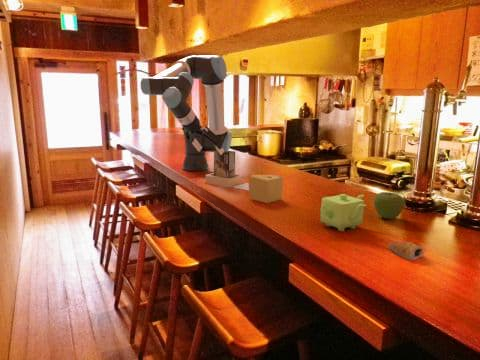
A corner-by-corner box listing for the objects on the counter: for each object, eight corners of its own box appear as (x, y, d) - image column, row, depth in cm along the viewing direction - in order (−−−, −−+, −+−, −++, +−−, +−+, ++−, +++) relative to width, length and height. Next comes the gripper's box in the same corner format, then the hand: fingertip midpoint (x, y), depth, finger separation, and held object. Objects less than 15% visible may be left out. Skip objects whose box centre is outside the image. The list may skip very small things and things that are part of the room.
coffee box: (235, 183, 190) (236, 151, 187) (229, 185, 185) (229, 152, 181) (219, 180, 194) (220, 149, 191) (212, 183, 189) (213, 151, 185)
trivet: (246, 184, 189) (246, 182, 188) (265, 187, 182) (265, 186, 182) (233, 187, 180) (233, 186, 180) (252, 191, 174) (252, 190, 173)
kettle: (361, 221, 136) (364, 191, 133) (366, 235, 122) (370, 201, 120) (318, 218, 138) (320, 188, 136) (319, 231, 125) (321, 198, 122)
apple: (365, 215, 142) (368, 190, 140) (385, 212, 147) (387, 187, 145) (389, 224, 133) (392, 197, 131) (409, 220, 138) (412, 193, 136)
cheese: (264, 195, 169) (265, 172, 167) (283, 200, 162) (284, 176, 159) (248, 198, 162) (248, 175, 160) (267, 204, 154) (268, 180, 152)
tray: (220, 179, 198) (220, 171, 197) (243, 183, 190) (243, 175, 189) (205, 182, 189) (205, 174, 188) (228, 187, 181) (228, 179, 180)
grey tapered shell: (382, 250, 111) (383, 237, 110) (397, 246, 114) (398, 234, 114) (410, 262, 103) (412, 249, 102) (426, 257, 107) (427, 244, 106)
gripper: (163, 124, 168) (187, 154, 183) (205, 128, 154) (228, 160, 169) (172, 111, 171) (195, 142, 186) (214, 114, 157) (236, 147, 172)
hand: (211, 151), depth 178 cm, fingers open, 13 cm apart
